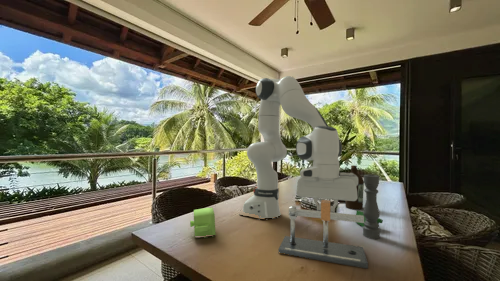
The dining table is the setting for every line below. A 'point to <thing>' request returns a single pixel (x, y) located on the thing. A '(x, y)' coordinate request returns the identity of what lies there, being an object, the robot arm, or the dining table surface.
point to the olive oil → (360, 187)
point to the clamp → (365, 219)
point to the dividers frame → (317, 214)
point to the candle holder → (371, 207)
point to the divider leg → (325, 220)
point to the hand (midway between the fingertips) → (325, 211)
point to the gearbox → (204, 222)
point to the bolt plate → (325, 251)
